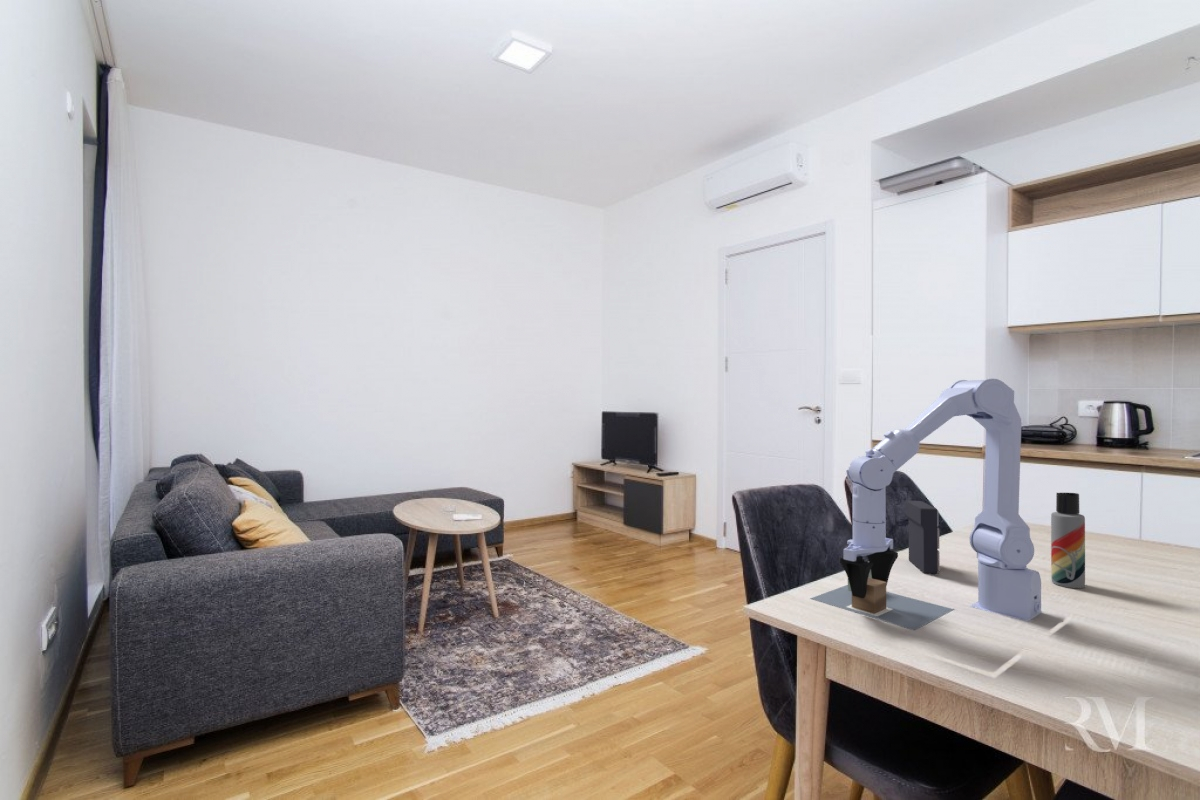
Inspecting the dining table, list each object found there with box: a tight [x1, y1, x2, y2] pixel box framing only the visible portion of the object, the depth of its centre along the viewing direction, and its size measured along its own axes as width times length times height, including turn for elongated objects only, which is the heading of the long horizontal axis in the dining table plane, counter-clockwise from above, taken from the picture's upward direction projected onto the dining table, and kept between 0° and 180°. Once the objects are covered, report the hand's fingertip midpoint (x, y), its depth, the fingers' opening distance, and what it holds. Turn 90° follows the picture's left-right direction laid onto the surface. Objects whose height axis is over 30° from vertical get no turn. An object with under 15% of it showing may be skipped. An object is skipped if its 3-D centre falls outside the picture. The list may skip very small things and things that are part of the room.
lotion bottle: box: [1050, 492, 1086, 589], centre depth 125 cm, size 6×6×20 cm
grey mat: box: [809, 584, 955, 631], centre depth 112 cm, size 20×16×1 cm
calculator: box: [905, 500, 941, 575], centre depth 138 cm, size 11×4×15 cm, turn 168°
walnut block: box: [852, 578, 887, 614], centre depth 110 cm, size 4×4×5 cm
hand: (869, 592), depth 110 cm, fingers open, 7 cm apart
